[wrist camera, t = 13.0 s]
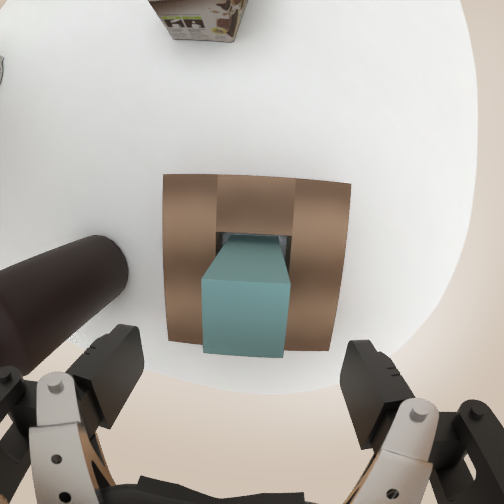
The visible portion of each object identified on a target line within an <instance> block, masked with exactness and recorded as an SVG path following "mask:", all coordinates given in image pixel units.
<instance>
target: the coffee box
mask: <svg viewBox="0 0 504 504" xmlns="http://www.w3.org/2000/svg"><path fill="white" fill-rule="evenodd" d="M148 1H149V3H150V4H151V6H152V7H153V9H154V10H155V12H156V13H157V15H158V16H159V18H160V19H161V21H162V22H163V24H164V26H165V27H166V28H167V30H168V32H169V33H170V35H171V37H172V38H173V39H194V40H211V41H222V42H232V41H234V39H235V36H236V33H237V30H238V27H239V24H240V21H241V18H242V15H243V12H244V9H245V6H246V4H247V1H248V0H148Z"/></svg>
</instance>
